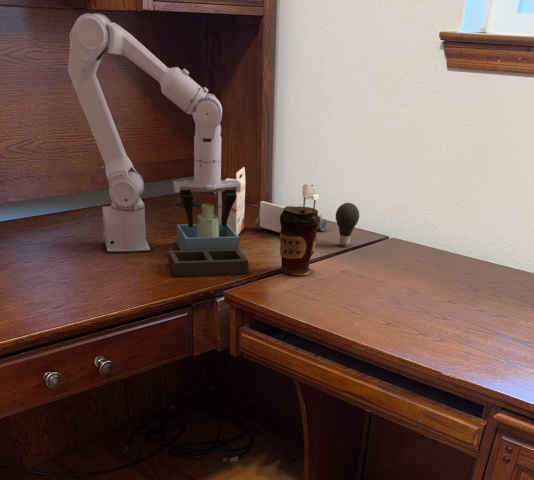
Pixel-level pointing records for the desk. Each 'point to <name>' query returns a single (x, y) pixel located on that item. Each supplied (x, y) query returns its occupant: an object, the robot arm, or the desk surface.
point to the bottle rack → (207, 262)
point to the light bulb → (346, 221)
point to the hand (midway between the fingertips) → (207, 225)
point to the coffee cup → (297, 238)
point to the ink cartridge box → (235, 205)
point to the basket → (206, 239)
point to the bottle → (207, 222)
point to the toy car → (272, 211)
